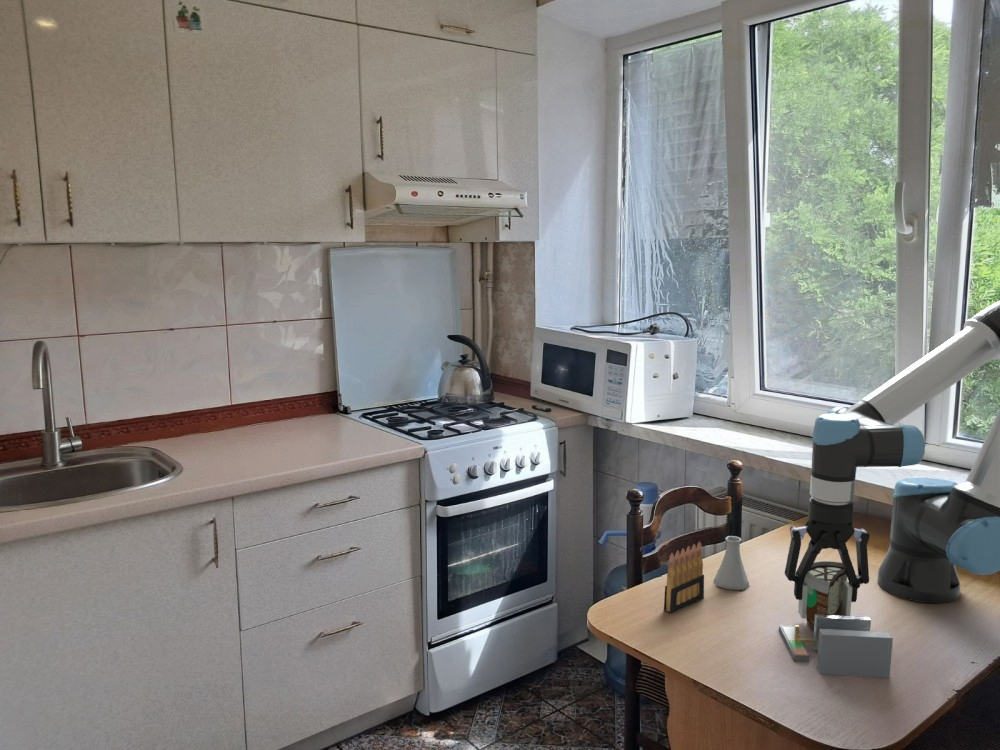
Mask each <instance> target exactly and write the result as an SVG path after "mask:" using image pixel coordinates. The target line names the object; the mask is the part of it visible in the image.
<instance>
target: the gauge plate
mask: <svg viewBox="0 0 1000 750" xmlns="http://www.w3.org/2000/svg"><path fill="white" fill-rule="evenodd" d="M871 625H872V619H871V618H870V617H869V616H854V615H850V616H836V615H815V621H814V627H813V638H805V637H802V638H801V637H800V628H801V627H800V625H798V624H795V625H794V627H795V636H794V642H795V643H803V644H812V647H813V649H814V650H815V651H818V643H819V629H832V630H853V631H871ZM799 637H800V638H799Z"/></svg>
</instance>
